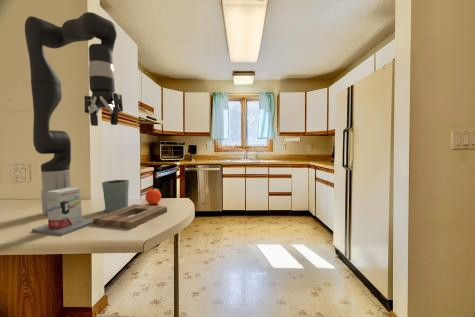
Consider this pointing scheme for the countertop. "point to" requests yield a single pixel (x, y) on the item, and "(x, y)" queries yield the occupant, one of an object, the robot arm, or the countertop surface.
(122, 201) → the grey cup
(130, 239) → the countertop surface
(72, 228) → the slate tile
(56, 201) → the ink box
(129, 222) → the frame
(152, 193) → the clementine
